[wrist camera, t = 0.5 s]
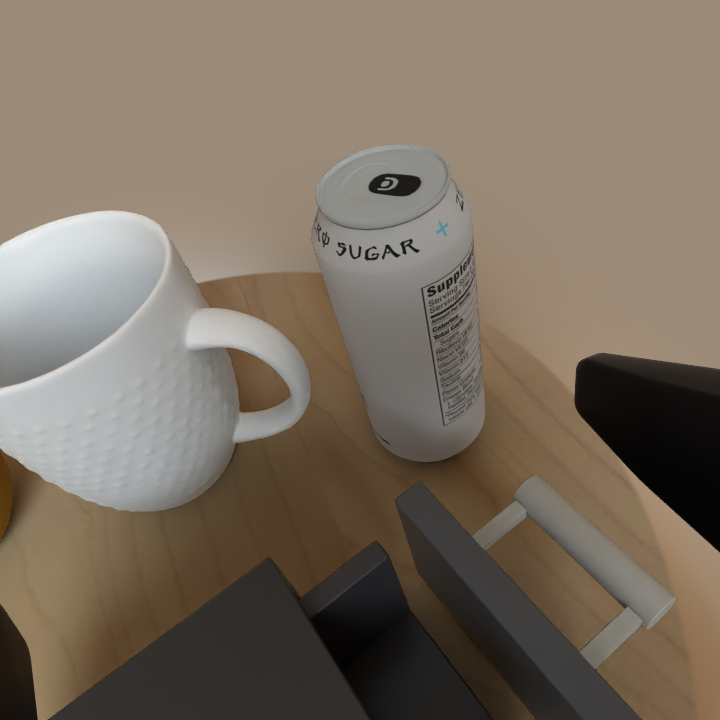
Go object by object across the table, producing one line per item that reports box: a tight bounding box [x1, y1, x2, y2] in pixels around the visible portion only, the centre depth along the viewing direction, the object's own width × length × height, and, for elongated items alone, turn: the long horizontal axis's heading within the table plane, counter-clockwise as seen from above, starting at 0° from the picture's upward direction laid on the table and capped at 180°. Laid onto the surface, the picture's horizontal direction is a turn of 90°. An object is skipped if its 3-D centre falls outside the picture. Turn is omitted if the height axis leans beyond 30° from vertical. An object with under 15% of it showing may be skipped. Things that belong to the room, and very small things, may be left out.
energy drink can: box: [311, 144, 485, 462], centre depth 26 cm, size 6×6×15 cm
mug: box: [0, 211, 311, 512], centre depth 29 cm, size 15×11×13 cm
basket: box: [298, 475, 676, 720], centre depth 20 cm, size 16×9×7 cm, turn 125°
